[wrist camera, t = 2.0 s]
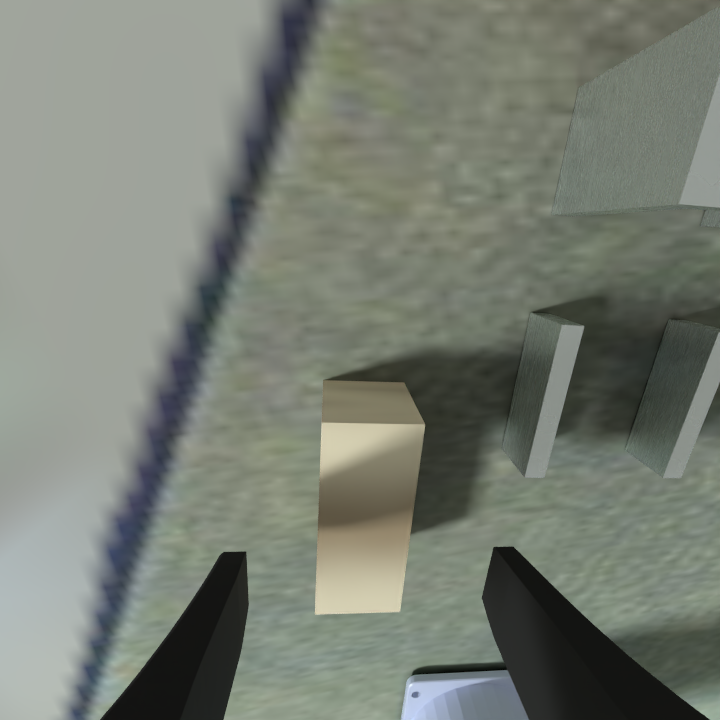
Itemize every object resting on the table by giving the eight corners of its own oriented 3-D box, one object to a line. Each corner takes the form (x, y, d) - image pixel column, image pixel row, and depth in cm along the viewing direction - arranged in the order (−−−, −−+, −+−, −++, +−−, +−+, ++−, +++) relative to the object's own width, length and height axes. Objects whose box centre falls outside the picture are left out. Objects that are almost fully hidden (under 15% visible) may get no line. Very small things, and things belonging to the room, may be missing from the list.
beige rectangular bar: (386, 538, 17) (399, 611, 14) (317, 538, 17) (315, 614, 14) (403, 380, 15) (425, 424, 11) (323, 378, 15) (321, 422, 11)
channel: (641, 450, 17) (681, 478, 15) (501, 448, 16) (524, 477, 14) (687, 320, 15) (739, 333, 13) (530, 312, 14) (562, 325, 12)
